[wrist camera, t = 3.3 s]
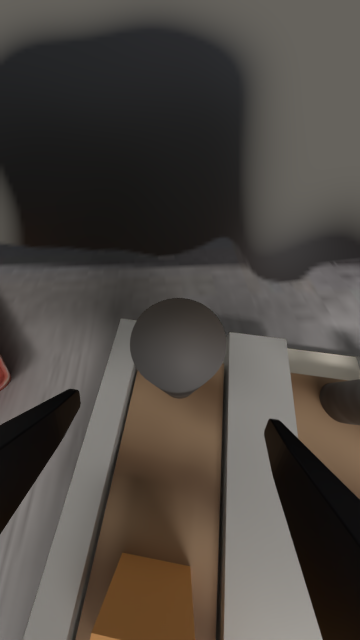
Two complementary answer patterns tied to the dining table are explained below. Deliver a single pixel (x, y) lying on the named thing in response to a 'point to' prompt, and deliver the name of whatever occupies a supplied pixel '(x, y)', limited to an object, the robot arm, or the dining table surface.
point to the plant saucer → (4, 374)
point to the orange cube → (147, 602)
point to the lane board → (235, 495)
